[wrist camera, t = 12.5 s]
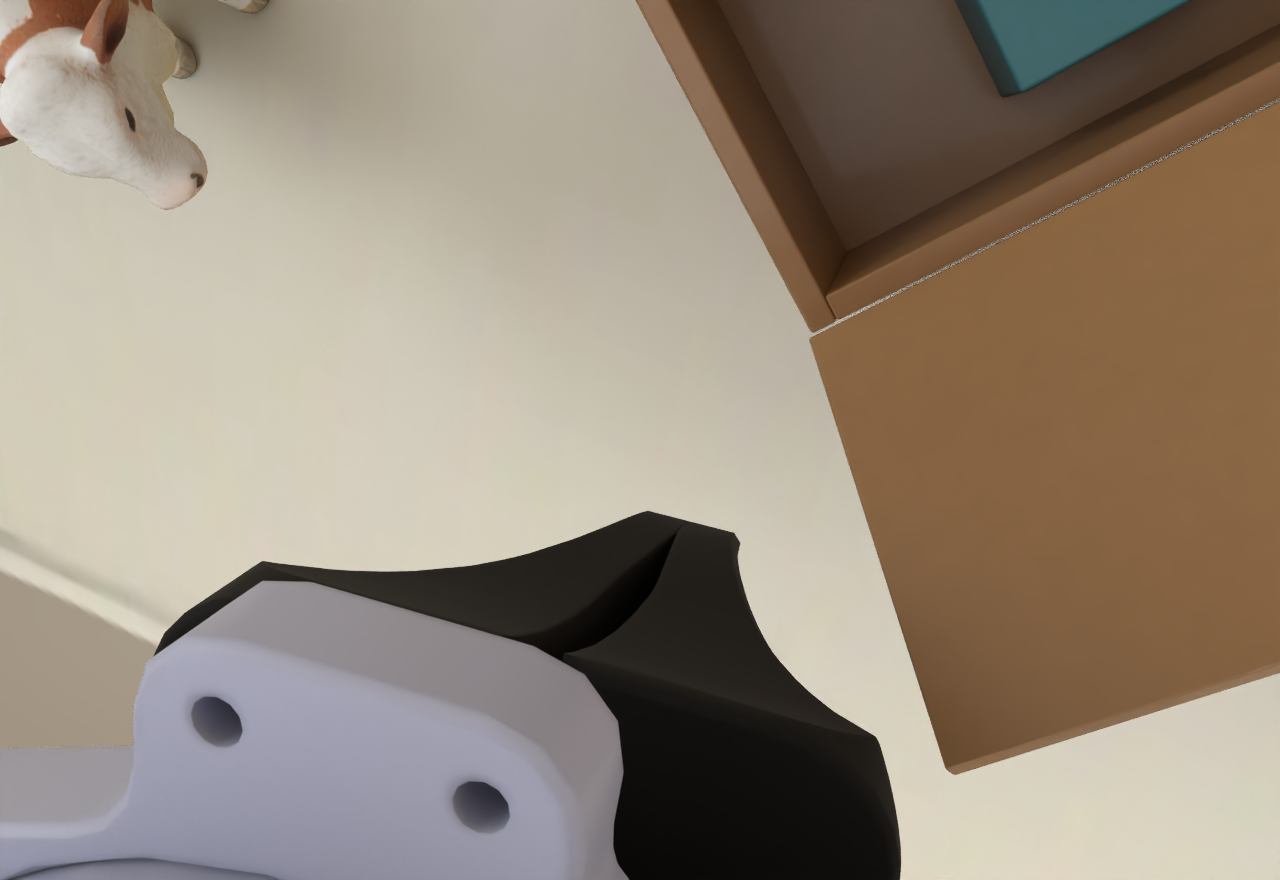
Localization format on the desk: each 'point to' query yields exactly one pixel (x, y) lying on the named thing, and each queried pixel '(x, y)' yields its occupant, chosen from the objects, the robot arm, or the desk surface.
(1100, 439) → the flap
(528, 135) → the desk surface
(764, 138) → the carton
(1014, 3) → the block
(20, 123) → the bull figurine
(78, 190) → the desk surface
